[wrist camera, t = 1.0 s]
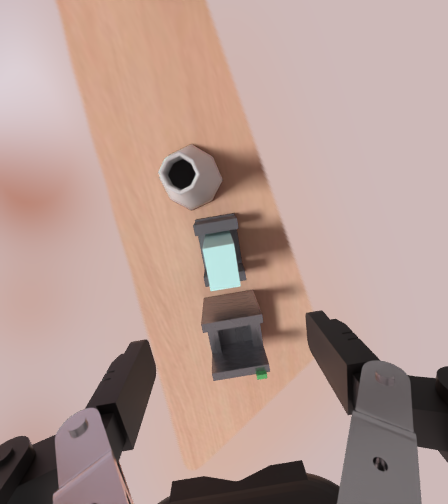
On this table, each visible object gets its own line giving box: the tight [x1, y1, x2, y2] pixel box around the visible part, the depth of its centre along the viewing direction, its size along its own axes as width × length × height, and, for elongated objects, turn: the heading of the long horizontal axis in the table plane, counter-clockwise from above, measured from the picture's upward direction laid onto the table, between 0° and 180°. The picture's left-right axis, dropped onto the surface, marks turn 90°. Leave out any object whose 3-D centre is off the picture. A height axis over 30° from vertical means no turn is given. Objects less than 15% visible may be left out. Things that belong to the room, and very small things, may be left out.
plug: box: [202, 230, 241, 291], centre depth 26 cm, size 4×3×8 cm
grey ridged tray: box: [193, 213, 246, 287], centre depth 29 cm, size 8×5×4 cm, turn 10°
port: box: [201, 290, 270, 381], centre depth 30 cm, size 8×7×7 cm
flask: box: [158, 144, 223, 210], centre depth 23 cm, size 7×7×10 cm
